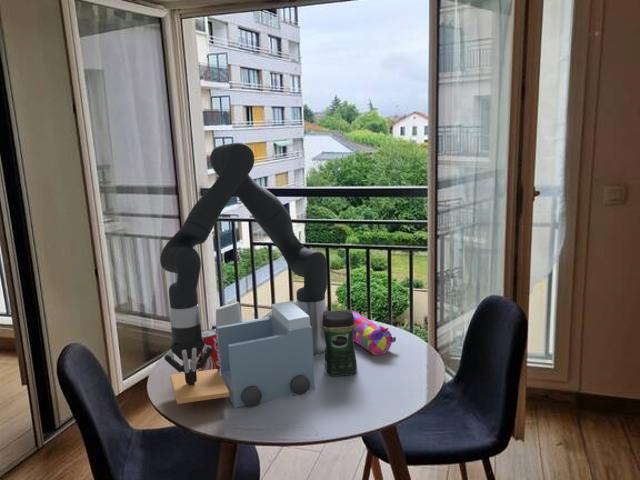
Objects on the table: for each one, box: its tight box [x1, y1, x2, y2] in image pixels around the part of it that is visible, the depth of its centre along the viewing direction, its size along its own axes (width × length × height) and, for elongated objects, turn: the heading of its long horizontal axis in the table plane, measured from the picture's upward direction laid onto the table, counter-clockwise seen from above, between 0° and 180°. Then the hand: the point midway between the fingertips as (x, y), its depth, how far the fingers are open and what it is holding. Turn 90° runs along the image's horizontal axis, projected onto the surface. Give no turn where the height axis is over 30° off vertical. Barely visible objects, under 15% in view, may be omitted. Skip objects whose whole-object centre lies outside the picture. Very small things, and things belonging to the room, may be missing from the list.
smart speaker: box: [215, 301, 243, 334], centre depth 179 cm, size 10×9×14 cm
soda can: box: [196, 329, 221, 371], centre depth 157 cm, size 7×7×12 cm
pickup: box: [217, 300, 316, 409], centre depth 145 cm, size 22×19×21 cm
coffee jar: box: [322, 309, 358, 376], centre depth 152 cm, size 10×8×19 cm
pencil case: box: [352, 311, 397, 356], centre depth 172 cm, size 22×9×9 cm, turn 29°
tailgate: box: [169, 369, 229, 405], centre depth 139 cm, size 2×15×13 cm
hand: (191, 383), depth 138 cm, fingers closed
